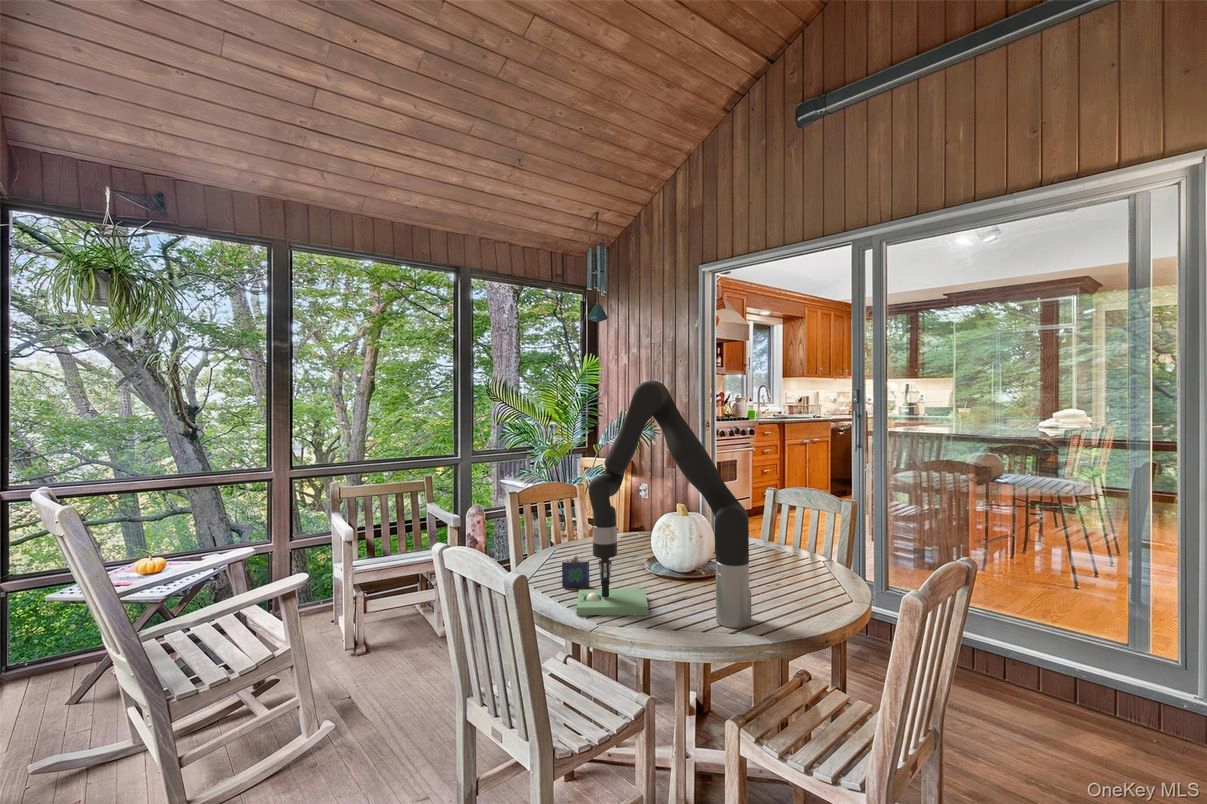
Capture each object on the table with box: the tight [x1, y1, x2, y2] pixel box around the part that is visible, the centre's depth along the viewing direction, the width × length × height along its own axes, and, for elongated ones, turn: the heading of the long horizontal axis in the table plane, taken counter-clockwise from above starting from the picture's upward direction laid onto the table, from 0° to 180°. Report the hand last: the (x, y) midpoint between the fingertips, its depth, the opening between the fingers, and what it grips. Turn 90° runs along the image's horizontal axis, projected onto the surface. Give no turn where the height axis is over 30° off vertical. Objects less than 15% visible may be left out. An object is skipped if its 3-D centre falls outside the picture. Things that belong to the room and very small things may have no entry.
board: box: [576, 588, 649, 616], centre depth 173 cm, size 21×15×2 cm
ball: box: [587, 593, 600, 601], centre depth 173 cm, size 4×4×4 cm
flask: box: [561, 555, 590, 589], centre depth 190 cm, size 9×3×11 cm, turn 95°
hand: (605, 596), depth 173 cm, fingers closed
